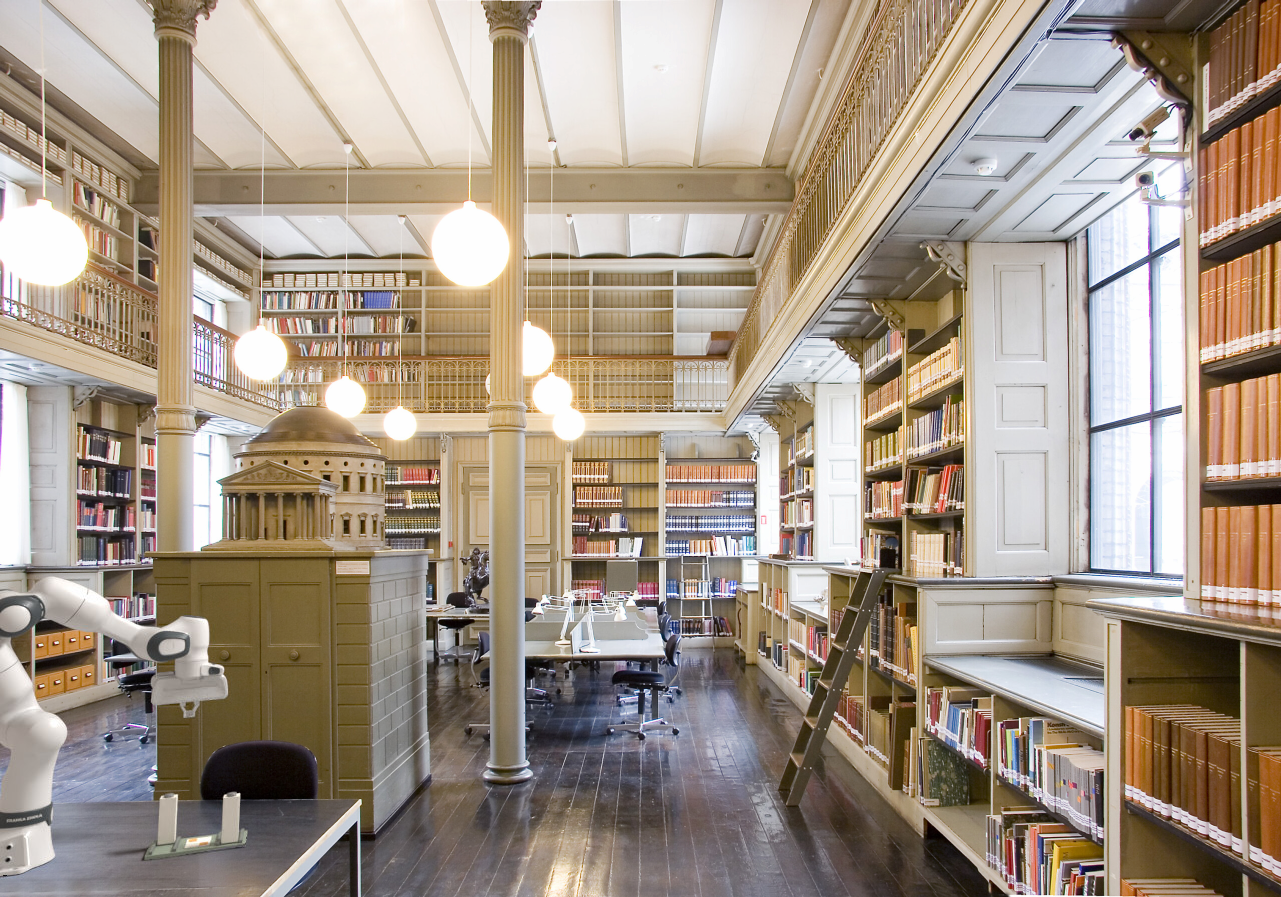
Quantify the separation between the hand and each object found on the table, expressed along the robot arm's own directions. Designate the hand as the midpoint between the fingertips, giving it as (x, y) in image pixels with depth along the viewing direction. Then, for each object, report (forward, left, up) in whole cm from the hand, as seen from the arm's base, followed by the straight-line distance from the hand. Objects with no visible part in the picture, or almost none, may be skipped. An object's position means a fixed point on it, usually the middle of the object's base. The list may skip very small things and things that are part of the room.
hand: (189, 717), depth 249 cm
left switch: (-5, -17, -30) cm, 35 cm away
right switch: (+9, -26, -30) cm, 40 cm away
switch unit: (+2, -21, -31) cm, 38 cm away
